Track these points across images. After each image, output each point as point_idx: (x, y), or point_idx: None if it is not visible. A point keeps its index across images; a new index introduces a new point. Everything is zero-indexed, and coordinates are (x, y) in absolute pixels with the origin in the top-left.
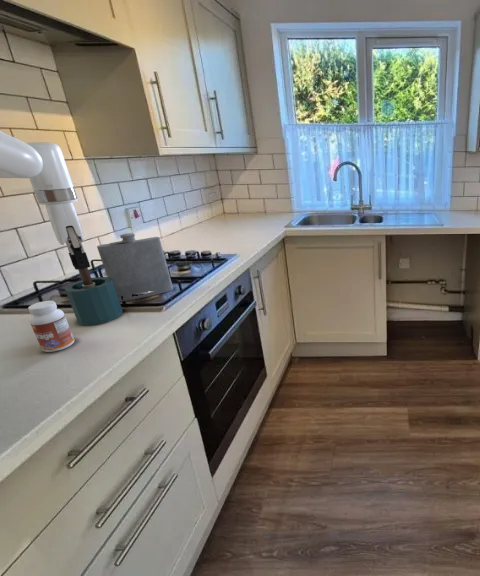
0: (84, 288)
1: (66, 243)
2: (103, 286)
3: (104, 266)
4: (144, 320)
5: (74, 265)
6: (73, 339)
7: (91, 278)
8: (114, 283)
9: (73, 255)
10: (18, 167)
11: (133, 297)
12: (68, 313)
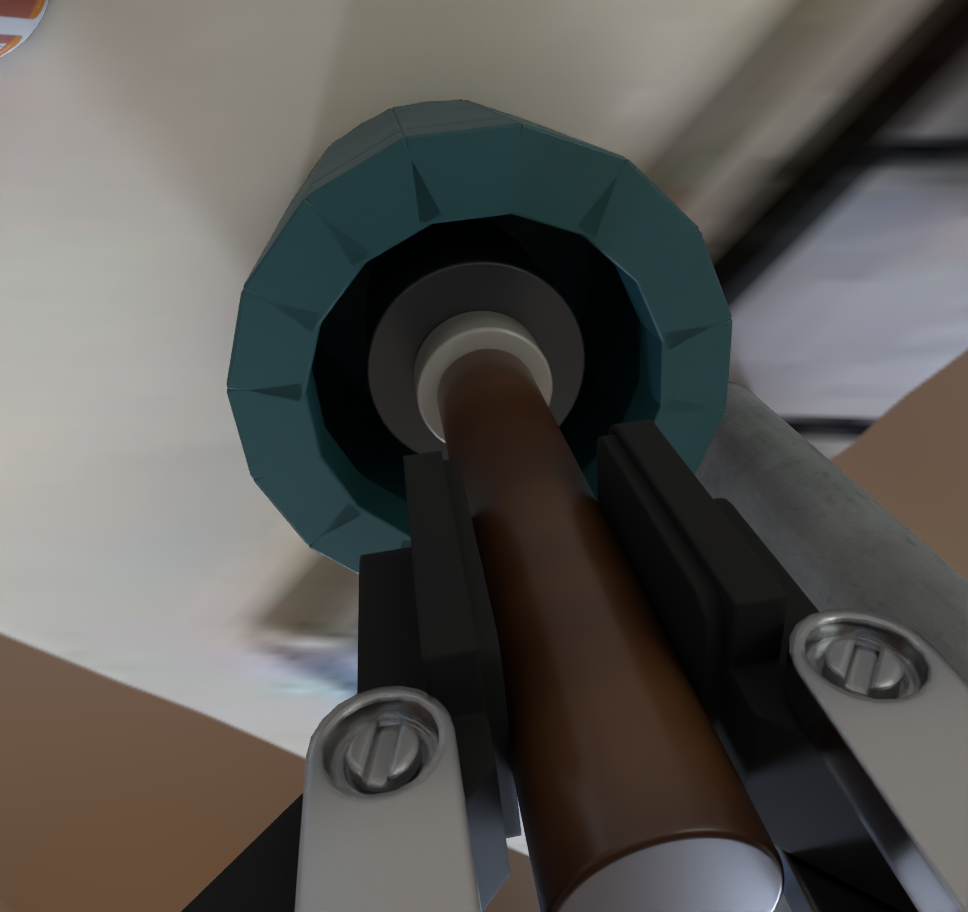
0: (434, 334)
1: (951, 890)
2: (294, 525)
3: (902, 582)
4: (151, 533)
5: (412, 500)
6: None
7: (710, 419)
8: (754, 498)
9: (429, 692)
10: None
11: None
12: (755, 22)
